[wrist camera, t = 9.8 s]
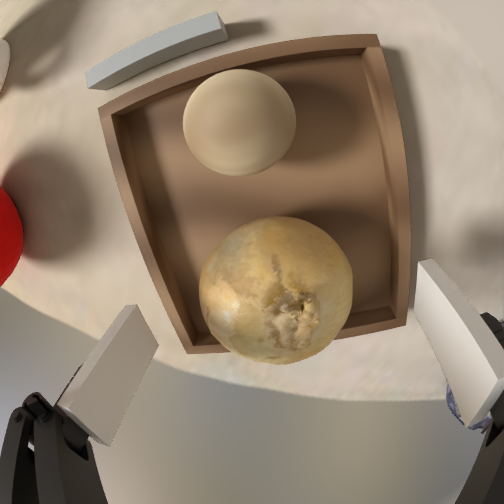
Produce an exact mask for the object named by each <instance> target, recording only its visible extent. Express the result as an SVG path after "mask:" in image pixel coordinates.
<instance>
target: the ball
mask: <svg viewBox="0 0 504 504" xmlns="http://www.w3.org/2000/svg"><path fill="white" fill-rule="evenodd" d="M183 131H184V136H185V139H186V142H187V144H188V146H189V148H190V150H191V152H192V153H193V155H194V156H195V157H196V158H197V159H198V160H199V161H200V162H201V163H202V164H203V165H205V166H206V167H208V168H209V169H211V170H213V171H215V172H218V173H221V174H224V175H229V176H249V175H254V174H257V173H260V172H262V171H265V170H267V169H268V168H270V167H272V166H273V165H274V164H276V163H277V162H278V161H279V160H280V159H281V158H282V157H283V156H284V155H285V154H286V152H287V151H288V149H289V147H290V146H291V144H292V141H293V139H294V135H295V131H296V114H295V109H294V106H293V103H292V101H291V99H290V97H289V95H288V94H287V92H286V91H285V90H284V89H283V87H282V86H281V85H280V84H278V83H277V82H276V81H275V80H273V79H272V78H270V77H269V76H267V75H264V74H262V73H259V72H256V71H252V70H246V69H234V70H228V71H224V72H221V73H218V74H216V75H214V76H212V77H210V78H208V79H207V80H205V81H204V82H203V83H202V84H200V85H199V86H198V87H197V89H196V90H195V91H194V92H193V94H192V95H191V96H190V98H189V100H188V102H187V104H186V107H185V111H184V115H183Z"/></svg>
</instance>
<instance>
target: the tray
mask: <svg viewBox="0 0 504 504" xmlns="http://www.w3.org/2000/svg"><path fill="white" fill-rule="evenodd" d="M234 69H246V70H252V71H256V72H259V73H262V74H264V75H267V76H269V77H270V78H272V79H273V80H275V81H276V82H277V83H278V84H280V85H281V86H282V87H283V89H284V90H285V91H286V92H287V94H288V95H289V97H290V99H291V101H292V103H293V106H294V109H295V114H296V131H295V135H294V139H293V141H292V144H291V146H290V147H289V149H288V151H287V152H286V154H285V155H284V156H283V157H282V158H281V159H280V160H279V161H278V162H277V163H276V164H274V165H273V166H272V167H270V168H268V169H267V170H265V171H262V172H260V173H257V174H254V175H249V176H229V175H224V174H221V173H218V172H215V171H213V170H211V169H209V168H208V167H206V166H205V165H203V164H202V163H201V162H200V161H199V160H198V159H197V158H196V157H195V156H194V155H193V153H192V152H191V150H190V148H189V146H188V144H187V142H186V139H185V136H184V131H183V115H184V111H185V107H186V104H187V102H188V100H189V98H190V96H191V95H192V94H193V92H194V91H195V90H196V89H197V87H198V86H199V85H200V84H202V83H203V82H204V81H205V80H207V79H208V78H210V77H212V76H214V75H216V74H218V73H221V72H224V71H228V70H234ZM98 111H99V116H100V121H101V125H102V129H103V133H104V138H105V142H106V146H107V149H108V153H109V157H110V161H111V164H112V168H113V171H114V175H115V178H116V181H117V185H118V188H119V191H120V194H121V197H122V200H123V203H124V207H125V209H126V212H127V215H128V218H129V221H130V224H131V227H132V230H133V232H134V235H135V238H136V240H137V243H138V246H139V248H140V251H141V254H142V256H143V259H144V261H145V264H146V266H147V269H148V271H149V273H150V276H151V278H152V281H153V283H154V285H155V288H156V290H157V292H158V294H159V297H160V299H161V301H162V303H163V306H164V308H165V310H166V312H167V314H168V316H169V318H170V321H171V323H172V325H173V327H174V329H175V331H176V333H177V335H178V337H179V339H180V341H181V343H182V345H183V347H184V349H185V351H186V353H187V354H204V353H223V352H231V351H229V350H228V349H227V348H225V347H224V346H223V345H222V344H221V343H220V342H219V341H218V340H217V339H216V338H215V337H214V336H213V335H212V334H211V332H210V329H209V328H208V326H207V324H206V322H205V319H204V317H203V314H202V310H201V306H200V299H199V283H200V277H201V272H202V268H203V266H204V264H205V262H206V260H207V258H208V256H209V254H210V253H211V252H212V251H213V250H214V249H215V247H216V246H217V245H218V244H219V243H220V242H221V241H222V240H223V239H225V238H226V237H227V236H228V235H229V234H231V233H232V232H233V231H235V230H236V229H238V228H239V227H241V226H243V225H245V224H247V223H249V222H252V221H254V220H257V219H259V218H264V217H273V216H279V217H282V216H284V217H293V218H298V219H301V220H304V221H307V222H309V223H311V224H313V225H315V226H317V227H319V228H321V229H322V230H323V231H325V232H326V233H327V234H328V235H329V236H330V237H331V238H332V239H333V240H334V241H335V242H336V243H337V244H338V245H339V247H340V248H341V250H342V251H343V252H344V254H345V256H346V258H347V259H348V261H349V263H350V266H351V269H352V274H353V279H352V280H353V296H352V307H351V310H350V313H349V316H348V318H347V320H346V322H345V324H344V325H343V327H342V328H341V330H340V331H339V333H338V334H337V336H336V337H335V338H334V339H333V340H337V339H343V338H348V337H354V336H359V335H364V334H369V333H374V332H379V331H383V330H388V329H392V328H396V327H401V326H405V325H406V320H407V311H408V300H409V287H410V267H411V217H410V198H409V184H408V174H407V165H406V157H405V149H404V142H403V136H402V130H401V124H400V119H399V114H398V109H397V104H396V100H395V95H394V91H393V87H392V83H391V79H390V76H389V72H388V68H387V65H386V61H385V58H384V55H383V52H382V49H381V46H380V43H379V40H378V37H377V34H351V35H333V36H322V37H312V38H304V39H297V40H290V41H284V42H278V43H273V44H268V45H263V46H258V47H254V48H249V49H245V50H241V51H237V52H233V53H230V54H226V55H222V56H219V57H216V58H212V59H209V60H206V61H203V62H200V63H197V64H194V65H191V66H188V67H186V68H183V69H180V70H178V71H175V72H172V73H170V74H167V75H165V76H162V77H160V78H158V79H155V80H153V81H151V82H148V83H146V84H144V85H142V86H140V87H138V88H135V89H133V90H131V91H129V92H127V93H125V94H123V95H121V96H119V97H117V98H116V99H114V100H112V101H110V102H108V103H106V104H104V105H103V106H101V107H99V108H98Z"/></svg>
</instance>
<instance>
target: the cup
mask: <svg viewBox="0 0 504 504" xmlns="http://www.w3.org/2000/svg"><path fill="white" fill-rule="evenodd" d="M9 62H10V47H9V44H8V43H7V42H6V41H5V40H3V39H0V92H1V90H2V87H3V85H4V82H5V79H6V76H7V72H8V67H9Z"/></svg>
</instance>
